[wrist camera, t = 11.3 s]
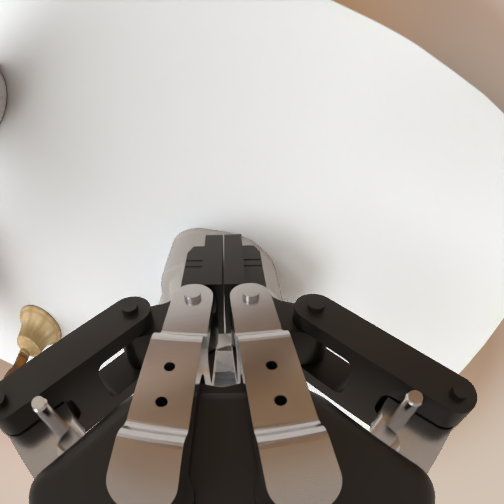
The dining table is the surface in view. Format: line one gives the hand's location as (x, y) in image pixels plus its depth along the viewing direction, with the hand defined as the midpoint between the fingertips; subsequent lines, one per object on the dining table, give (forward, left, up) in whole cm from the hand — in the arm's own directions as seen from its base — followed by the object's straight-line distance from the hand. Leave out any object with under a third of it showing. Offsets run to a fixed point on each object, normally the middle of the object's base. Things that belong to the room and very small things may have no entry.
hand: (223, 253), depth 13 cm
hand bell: (+25, -31, -19) cm, 44 cm away
